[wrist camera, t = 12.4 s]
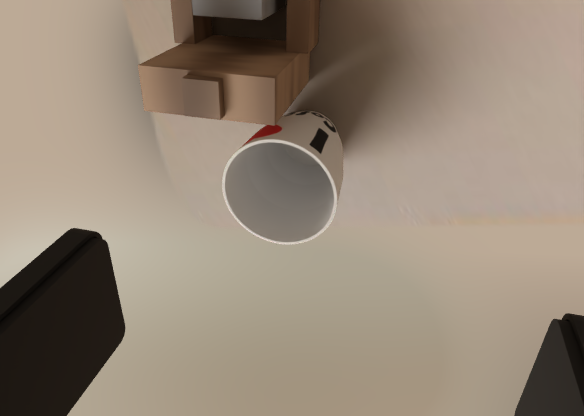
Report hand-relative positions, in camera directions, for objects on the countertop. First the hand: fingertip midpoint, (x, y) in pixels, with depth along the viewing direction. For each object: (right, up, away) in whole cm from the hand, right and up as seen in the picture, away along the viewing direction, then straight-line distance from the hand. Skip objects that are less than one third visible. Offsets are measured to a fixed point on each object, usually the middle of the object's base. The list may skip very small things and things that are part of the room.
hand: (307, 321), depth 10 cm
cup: (+1, +8, +31) cm, 32 cm away
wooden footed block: (-3, +17, +27) cm, 32 cm away
